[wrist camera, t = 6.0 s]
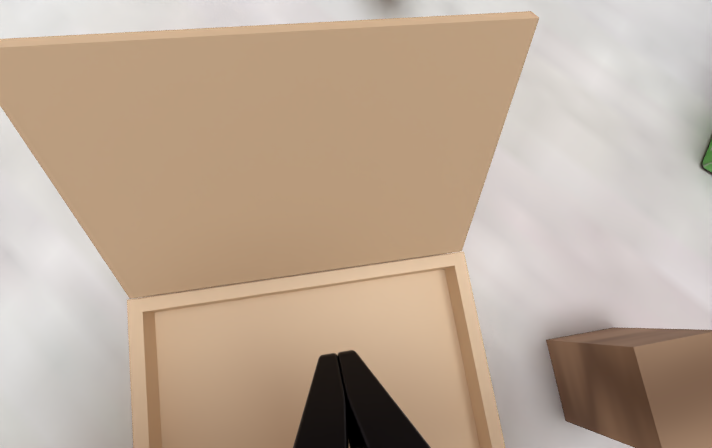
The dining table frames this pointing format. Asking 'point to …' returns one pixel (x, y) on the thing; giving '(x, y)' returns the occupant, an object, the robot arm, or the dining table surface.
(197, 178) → the mailer lid
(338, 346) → the box
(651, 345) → the walnut block
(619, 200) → the dining table surface
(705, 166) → the ink box
